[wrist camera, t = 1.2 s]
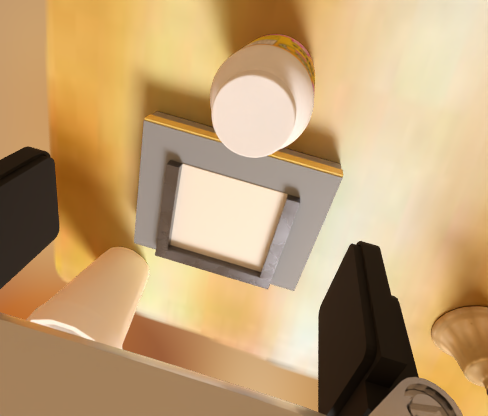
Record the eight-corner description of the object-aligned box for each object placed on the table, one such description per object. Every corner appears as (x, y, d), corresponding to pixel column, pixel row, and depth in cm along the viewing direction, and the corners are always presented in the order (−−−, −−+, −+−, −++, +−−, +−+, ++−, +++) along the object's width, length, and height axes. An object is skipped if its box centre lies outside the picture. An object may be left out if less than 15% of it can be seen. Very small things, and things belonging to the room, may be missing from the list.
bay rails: (300, 197, 33) (299, 203, 32) (269, 282, 38) (268, 289, 38) (170, 159, 33) (166, 164, 32) (158, 249, 39) (155, 255, 38)
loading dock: (341, 162, 33) (343, 176, 31) (295, 272, 41) (294, 291, 38) (157, 109, 34) (143, 118, 31) (145, 227, 42) (133, 243, 39)
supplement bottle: (320, 106, 31) (322, 165, 20) (247, 121, 33) (213, 183, 22) (307, 22, 28) (301, 39, 17) (228, 43, 30) (177, 71, 19)
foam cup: (89, 281, 48) (21, 367, 37) (90, 226, 43) (12, 306, 32) (157, 303, 48) (109, 395, 37) (166, 250, 43) (113, 339, 32)
